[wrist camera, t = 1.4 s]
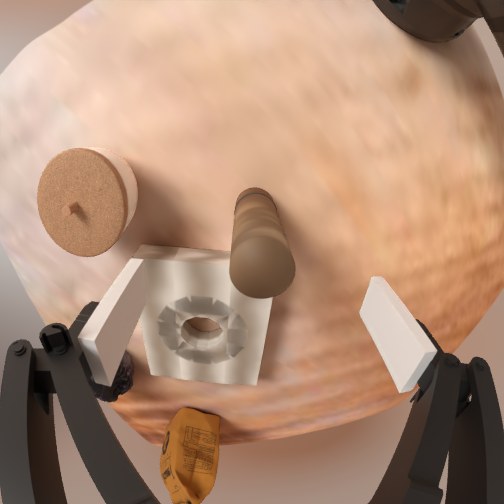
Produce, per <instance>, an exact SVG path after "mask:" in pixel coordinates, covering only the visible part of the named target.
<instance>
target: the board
mask: <svg viewBox="0 0 504 504" xmlns="http://www.w3.org/2000/svg"><path fill="white" fill-rule="evenodd" d="M230 255H231V252H230V251H218V250H206V249H194V248H182V247H170V246H158V245H146V244H142V245H141V246H140V247H139V249H138V250H137V251H136V252H135V254H134V255H133V256H132V258H133V259H143V260H144V272H145V283H146V292H147V303H146V305H145V307H144V309H143V311H142V314H141V316H140V322H141V328H142V333H143V339H144V344H145V349H146V354H147V359H148V364H149V368H150V373H151V375H156V376H162V377H169V378H176V379H184V380H192V381H201V382H212V383H224V384H239V385H257V380H258V375H259V370H260V364H261V359H262V354H263V349H264V343H265V338H266V333H267V327H268V322H269V316H270V310H271V305H272V299H273V297H271V298H267V299H256V298H251V297H248V296H246V295H244V294H242V293H241V292H239V291H238V290H237V289H236V288H235V287H234V285H233V284H232V281H231V279H230V275H229V265H230ZM194 317H204V318H209V319H211V320H213V321H214V322H216V323H218V324H219V326H220V328H219V329H217V330H214V331H211V332H206V331H199V330H197V329H195V328H193V327H191V326H190V324H189V323H188V322H187V320H188V319H191V318H194Z"/></svg>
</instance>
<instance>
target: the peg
mask: <svg viewBox="0 0 504 504" xmlns="http://www.w3.org/2000/svg"><path fill="white" fill-rule="evenodd" d="M234 215H235V217H234V226H233V236H232V245H231V255H230V265H229V275H230V279H231V281H232V284H233V285H234V287H235V288H236V289H237V290H238V291H239V292H241V293H242V294H244V295H246V296H248V297H251V298H256V299H267V298H271V297H274V296H277V295H279V294H281V293H282V292H283V291H285V290H286V289H287V288H288V287H289V286H290V284H291V283H292V281H293V279H294V275H295V262H294V259H293V257H292V254H291V251H290V248H289V245H288V242H287V239H286V236H285V233H284V230H283V228H282V225H281V222H280V219H279V216H278V213H277V210H276V206H275V204H274V202H273V200H272V197H271V196H270V194H269V193H268V192H266V191H265V190H263V189H260V188H249V189H247V190H245V191H243V192H242V193H241V194H240V195H239V197H238V198H237V201H236V207H235V212H234Z"/></svg>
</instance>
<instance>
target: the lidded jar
mask: <svg viewBox="0 0 504 504" xmlns="http://www.w3.org/2000/svg"><path fill="white" fill-rule="evenodd" d="M137 201H138V187H137V181H136V178H135V175H134V173H133V171H132V169H131V167H130V166H129V164H128V163H127V162H126V161H125V160H124V159H123V158H122V157H121V156H119V155H118V154H117V153H115V152H113V151H111V150H107V149H104V148H98V147H85V148H75V149H70V150H67V151H64V152H62V153H60V154H58V155H56V156H55V157H54V158H53V159H52V160H51V161H50V162H49V163H48V164H47V166H46V168H45V169H44V171H43V173H42V176H41V178H40V182H39V186H38V194H37V203H38V210H39V214H40V218H41V220H42V223H43V225H44V227H45V229H46V231H47V233H48V234H49V235H50V237H51V238H52V239H53V240H54V242H55V243H56V244H58V245H59V246H60V247H61V248H63V249H64V250H66V251H67V252H69V253H71V254H74V255H77V256H82V257H92V256H97V255H100V254H102V253H104V252H106V251H107V250H108V249H110V248H111V247H112V246H113V245H114V244H115V242H116V241H117V240H118V239H119V237H120V236H121V234H122V233H123V232H124V231H125V230H126V228H127V226H128V225H129V223H130V222H131V220H132V218H133V215H134V213H135V210H136V206H137Z"/></svg>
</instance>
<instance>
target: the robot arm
mask: <svg viewBox="0 0 504 504" xmlns="http://www.w3.org/2000/svg"><path fill="white" fill-rule="evenodd" d="M373 1H374V2H375V4H376V5H377V6H378V7H379V8H380V10H381V11H382V12H383V13H384V14H385V15H386V16H387V17H388V18H389V19H390V20H392V21H393V22H394V23H395V24H396V25H398V26H399V27H400V28H402V29H403V30H405V31H406V32H408V33H410V34H411V35H413V36H415V37H417V38H420V39H422V40H425V41H429V42H444V41H448V40H452V39H455V38H457V37H458V36H460V35H461V34H462V33H463V32H464V30H465V29H467V28H468V27H469V26H470V25H471V24H472V23H473V22H474V21H475V20H476V19H478V18H481V17H484V19H485V21H486V22H487V24H488V26H489V28H490V30H491V32H492V34H493V36H494V37H495V39H496V42H497V44H498V46H499V48H500V50H501V52H502V54H503V57H504V0H373ZM146 303H147V292H146V283H145V272H144V260H143V259H133V258H131V259H130V260H129V262H128V263H127V264H126V266H125V267H124V268H123V270H122V271H121V273H120V274H119V275H118V277H117V278H116V280H115V281H114V282H113V284H112V285H111V287H110V288H109V290H108V291H107V293H106V294H105V295H104V297H103V298H102V300H101V301H100V303H99V302H93V301H92V302H90V303H89V304H88V305H86V306H85V307H84V308H83V309H82V311H81V312H80V315H78V317H77V318H76V321H74V322H73V324H72V325H71V327H70V328H69V330H68V329H67V327H66V326H65V325H63V324H60V323H53V324H50V325H48V326H46V327H45V328H43V329H42V331H41V332H40V336H39V338H40V341H41V343H42V345H43V347H44V349H33V348H32V345H31V344H30V342H29V341H27V340H22V339H21V340H17V341H15V342H13V343H12V344H11V345H10V346H9V348H8V351H7V356H6V361H5V366H4V373H3V379H2V386H1V395H0V488H1V496H2V502H3V504H67V500H66V496H65V492H64V487H63V482H62V477H61V472H60V466H59V460H58V454H57V446H56V437H55V426H54V412H53V393H57V396H58V399H59V402H60V405H61V408H62V411H63V413H64V416H65V419H66V422H67V425H68V427H69V430H70V432H71V435H72V437H73V440H74V442H75V444H76V447H77V449H78V451H79V453H80V455H81V458H82V460H83V462H84V464H85V466H86V468H87V470H88V472H89V474H90V476H91V478H92V480H93V482H94V483H95V485H96V487H97V489H98V491H99V492H100V494H101V496H102V497H103V499H104V501H105V502H106V504H160V502H159V501H158V500H157V498H156V497H155V496H154V494H153V493H152V492H151V490H150V489H149V488H148V486H147V485H146V483H145V482H144V480H143V479H142V478H141V476H140V475H139V473H138V472H137V470H136V469H135V467H134V466H133V464H132V462H131V461H130V459H129V458H128V456H127V454H126V453H125V451H124V450H123V448H122V446H121V445H120V443H119V441H118V439H117V438H116V436H115V434H114V432H113V430H112V429H111V426H110V425H109V423H108V421H107V419H106V417H105V415H104V413H103V411H102V409H101V407H100V405H99V403H98V400H97V399H96V396H95V394H94V392H93V389H92V387H91V385H90V383H89V380H90V378H91V376H93V378H94V380H95V383H98V384H102V385H106V386H111V385H112V382H113V380H114V377H115V375H116V372H117V369H118V367H119V365H120V362H121V360H122V357H123V355H124V352H125V350H126V348H127V345H128V343H129V341H130V338H131V336H132V334H133V331H134V329H135V327H136V325H137V322H138V320H139V318H140V316H141V314H142V311H143V309H144V307H145V305H146ZM359 314H360V316H361V318H362V320H363V322H364V324H365V325H366V327H367V329H368V331H369V333H370V335H371V337H372V339H373V341H374V343H375V344H376V346H377V348H378V350H379V352H380V354H381V356H382V358H383V360H384V362H385V364H386V366H387V368H388V370H389V372H390V374H391V376H392V378H393V380H394V382H395V385H396V387H397V389H398V391H399V393H403V392H408V391H412V389H413V388H414V386H415V385H416V383H418V385H419V387H420V388H419V389H418V391H417V392H416V394H415V395H414V396H413V398H412V399H411V401H410V402H412V401H413V400H414V402H413V405H412V408H411V412H410V414H409V417H408V420H407V423H406V426H405V428H404V431H403V433H402V436H401V439H400V441H399V444H398V446H397V448H396V451H395V453H394V455H393V458H392V460H391V462H390V464H389V466H388V469H387V471H386V473H385V475H384V477H383V479H382V481H381V483H380V485H379V487H378V489H377V490H376V492H375V494H374V496H373V498H372V499H371V501H370V502H369V503H368V504H440V503H441V500H442V496H443V490H442V489H440V488H439V487H438V486H439V482H440V479H441V476H442V472H443V469H444V465H445V462H446V458H447V454H448V450H449V460H448V462H449V463H448V479H447V491H446V500H445V504H504V429H503V423H502V418H501V412H500V407H499V403H498V398H497V394H496V390H495V386H494V382H493V378H492V374H491V371H490V367H489V365H488V363H487V362H486V361H485V360H484V359H483V358H480V357H474V358H473V359H472V360H471V362H470V363H469V364H464V363H461V362H460V360H459V359H458V358H457V357H456V356H454V355H453V354H450V353H444V352H443V350H442V349H441V348H440V346H439V345H438V343H437V342H436V340H435V339H434V338H433V337H432V335H431V333H430V332H429V331H428V329H427V328H426V327H425V325H424V324H423V323H421V322H420V321H419V320H418V319H415V318H414V317H413V316H412V314H411V313H410V312H409V310H408V309H407V308H406V306H405V305H404V304H403V302H402V301H401V300H400V298H399V297H398V296H397V295H396V293H395V292H394V291H393V290H392V288H391V287H390V286H389V284H388V283H387V282H386V281H385V279H384V278H383V277H376V276H372V278H371V281H370V284H369V287H368V290H367V293H366V296H365V298H364V301H363V304H362V307H361V310H360V312H359ZM471 395H472V398H471V401H469V397H470V396H471Z"/></svg>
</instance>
